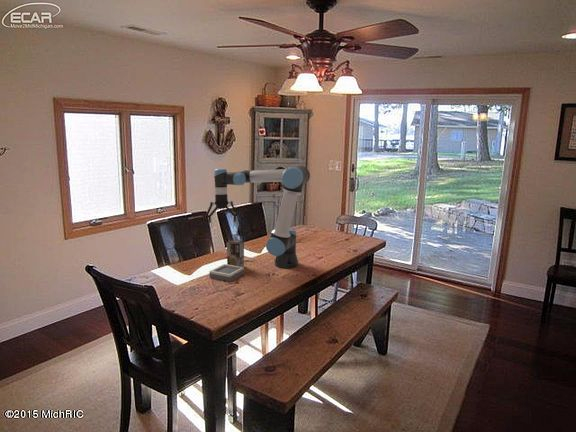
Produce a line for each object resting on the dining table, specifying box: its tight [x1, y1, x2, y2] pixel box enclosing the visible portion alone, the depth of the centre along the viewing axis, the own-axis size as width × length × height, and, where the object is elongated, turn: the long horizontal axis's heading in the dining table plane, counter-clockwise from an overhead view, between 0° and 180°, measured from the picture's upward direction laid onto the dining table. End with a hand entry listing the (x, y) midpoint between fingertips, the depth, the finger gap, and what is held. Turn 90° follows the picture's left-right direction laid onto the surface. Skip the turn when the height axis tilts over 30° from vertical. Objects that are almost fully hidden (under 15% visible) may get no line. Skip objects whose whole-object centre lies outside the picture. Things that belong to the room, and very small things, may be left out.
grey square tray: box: [209, 263, 245, 282], centre depth 242 cm, size 14×15×4 cm
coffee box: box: [226, 239, 245, 268], centre depth 257 cm, size 9×6×16 cm
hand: (222, 227), depth 261 cm, fingers open, 13 cm apart
